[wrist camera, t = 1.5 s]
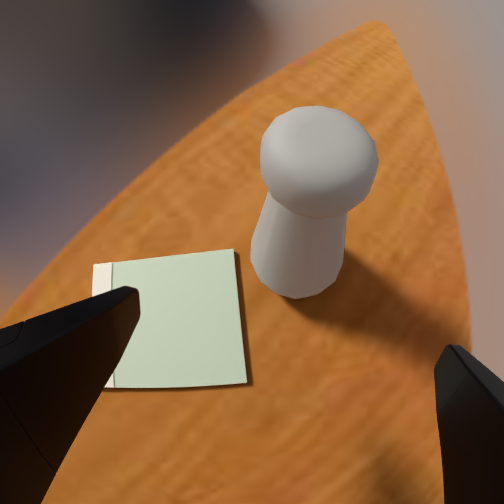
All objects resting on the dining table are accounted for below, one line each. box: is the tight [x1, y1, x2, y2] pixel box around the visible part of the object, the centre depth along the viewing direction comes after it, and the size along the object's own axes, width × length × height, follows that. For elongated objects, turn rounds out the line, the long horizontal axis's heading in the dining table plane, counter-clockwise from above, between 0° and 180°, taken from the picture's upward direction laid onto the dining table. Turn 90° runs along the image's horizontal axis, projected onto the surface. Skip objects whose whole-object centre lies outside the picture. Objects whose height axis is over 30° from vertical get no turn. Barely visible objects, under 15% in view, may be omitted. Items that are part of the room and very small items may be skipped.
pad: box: [92, 249, 247, 388], centre depth 21 cm, size 9×11×1 cm
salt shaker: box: [251, 106, 379, 299], centre depth 16 cm, size 6×6×13 cm
